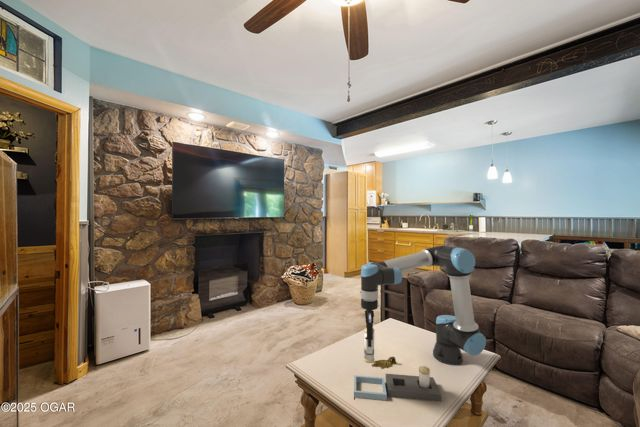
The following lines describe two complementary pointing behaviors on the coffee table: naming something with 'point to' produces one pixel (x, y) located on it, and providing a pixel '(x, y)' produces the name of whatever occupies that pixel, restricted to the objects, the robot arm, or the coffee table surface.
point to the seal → (385, 363)
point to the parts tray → (370, 394)
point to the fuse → (424, 377)
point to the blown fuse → (367, 357)
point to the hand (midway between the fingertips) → (369, 350)
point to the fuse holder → (411, 388)
